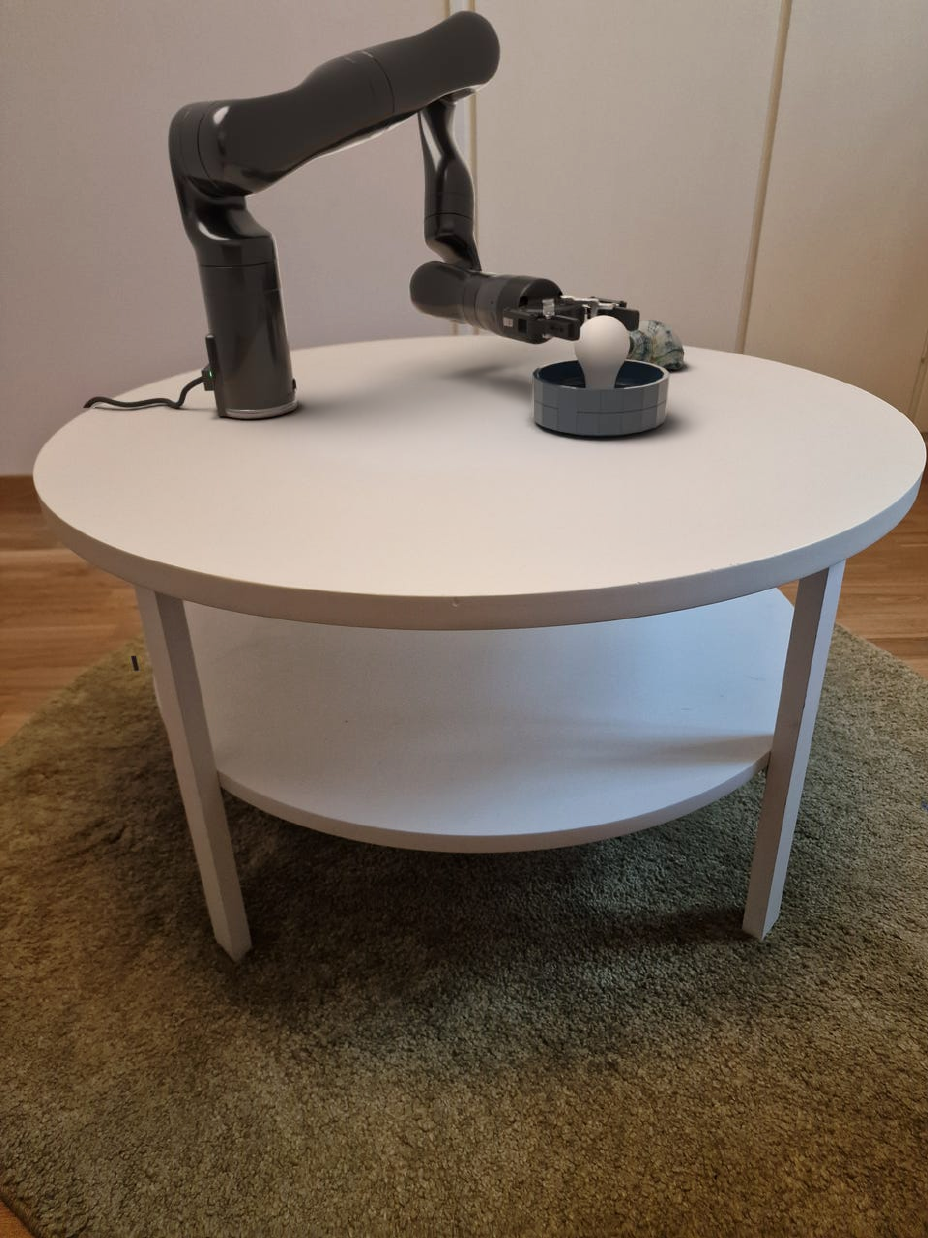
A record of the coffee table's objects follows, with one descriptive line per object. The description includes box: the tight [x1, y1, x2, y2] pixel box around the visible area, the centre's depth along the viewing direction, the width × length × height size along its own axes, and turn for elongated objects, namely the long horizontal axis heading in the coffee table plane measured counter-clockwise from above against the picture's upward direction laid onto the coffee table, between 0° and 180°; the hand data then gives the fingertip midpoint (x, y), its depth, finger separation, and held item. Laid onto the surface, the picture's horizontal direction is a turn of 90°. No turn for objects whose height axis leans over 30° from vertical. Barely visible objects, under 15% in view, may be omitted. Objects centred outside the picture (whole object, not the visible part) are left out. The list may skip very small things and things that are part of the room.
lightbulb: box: [573, 316, 630, 389], centre depth 96 cm, size 6×6×11 cm
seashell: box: [626, 319, 686, 371], centre depth 119 cm, size 6×8×12 cm
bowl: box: [531, 358, 671, 438], centre depth 97 cm, size 15×15×6 cm
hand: (608, 325), depth 93 cm, fingers open, 8 cm apart
